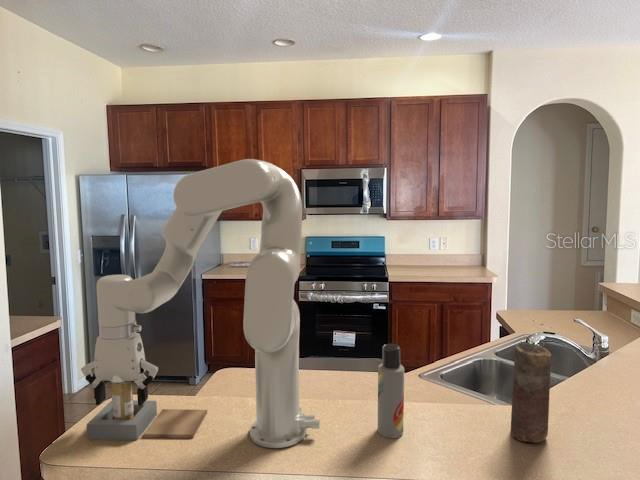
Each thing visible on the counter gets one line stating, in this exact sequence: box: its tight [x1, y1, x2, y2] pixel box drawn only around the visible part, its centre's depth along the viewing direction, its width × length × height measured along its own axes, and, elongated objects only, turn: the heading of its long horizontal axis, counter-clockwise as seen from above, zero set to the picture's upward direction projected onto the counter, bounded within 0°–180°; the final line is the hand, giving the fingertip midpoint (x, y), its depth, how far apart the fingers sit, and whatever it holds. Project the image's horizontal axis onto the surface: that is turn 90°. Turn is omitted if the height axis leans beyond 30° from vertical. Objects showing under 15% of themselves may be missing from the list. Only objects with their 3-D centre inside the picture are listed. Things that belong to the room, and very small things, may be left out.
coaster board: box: [142, 408, 208, 439], centre depth 104 cm, size 11×11×1 cm
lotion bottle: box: [377, 343, 405, 439], centre depth 99 cm, size 6×6×20 cm
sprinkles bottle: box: [110, 376, 134, 420], centre depth 103 cm, size 5×5×13 cm
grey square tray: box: [86, 399, 158, 441], centre depth 103 cm, size 11×11×4 cm
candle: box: [510, 342, 552, 443], centre depth 97 cm, size 8×7×20 cm
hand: (121, 402), depth 103 cm, fingers open, 9 cm apart
